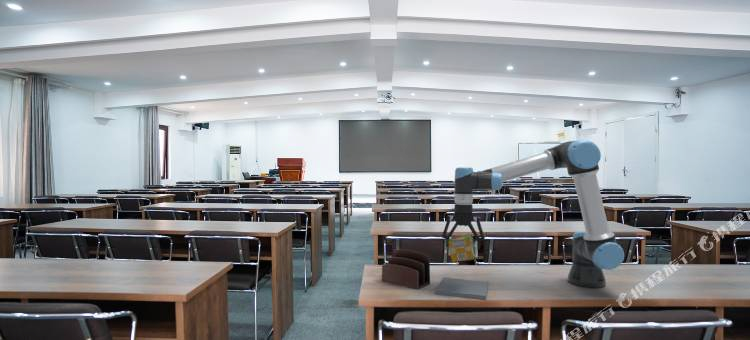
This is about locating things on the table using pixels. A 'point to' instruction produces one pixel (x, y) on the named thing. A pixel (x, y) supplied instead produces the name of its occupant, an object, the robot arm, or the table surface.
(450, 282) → the mat
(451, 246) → the chalk box
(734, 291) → the table surface
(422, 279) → the letter holder
